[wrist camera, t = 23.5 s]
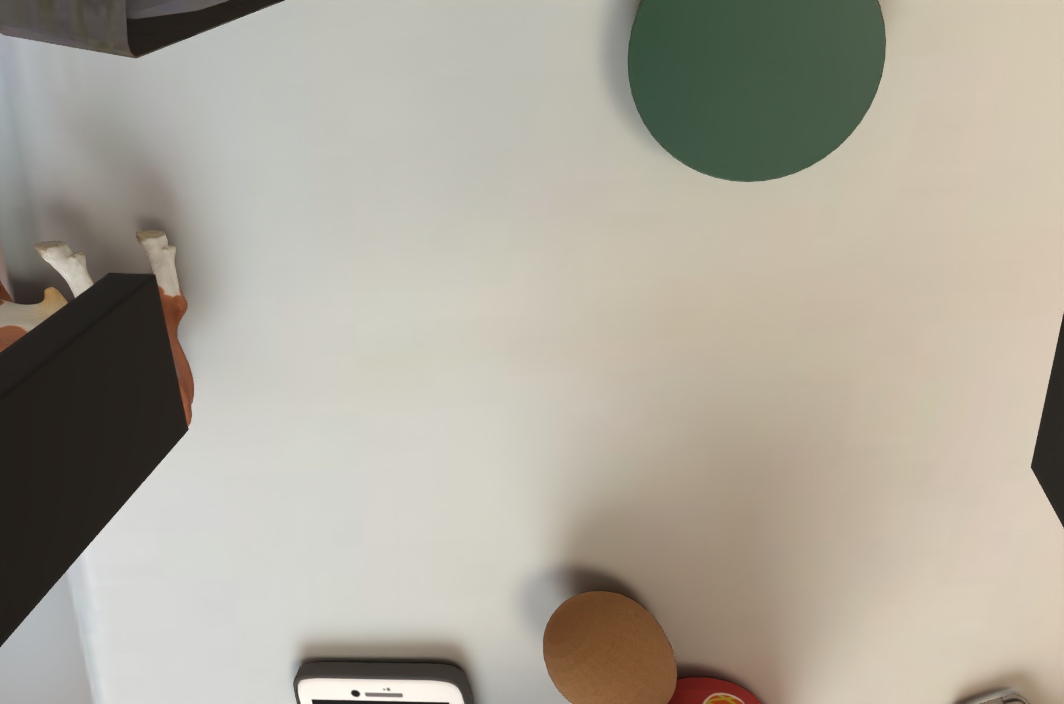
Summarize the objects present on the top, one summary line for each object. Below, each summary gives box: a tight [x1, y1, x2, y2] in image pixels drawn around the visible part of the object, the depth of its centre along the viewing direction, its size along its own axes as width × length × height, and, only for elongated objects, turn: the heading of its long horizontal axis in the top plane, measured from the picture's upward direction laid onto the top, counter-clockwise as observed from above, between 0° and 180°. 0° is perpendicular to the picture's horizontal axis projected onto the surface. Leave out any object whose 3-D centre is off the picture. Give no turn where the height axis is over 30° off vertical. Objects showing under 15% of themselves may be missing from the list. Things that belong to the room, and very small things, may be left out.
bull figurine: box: [0, 230, 194, 426], centre depth 36 cm, size 4×13×8 cm
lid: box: [628, 0, 886, 182], centre depth 29 cm, size 7×7×2 cm
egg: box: [543, 591, 677, 704], centre depth 39 cm, size 4×4×6 cm
